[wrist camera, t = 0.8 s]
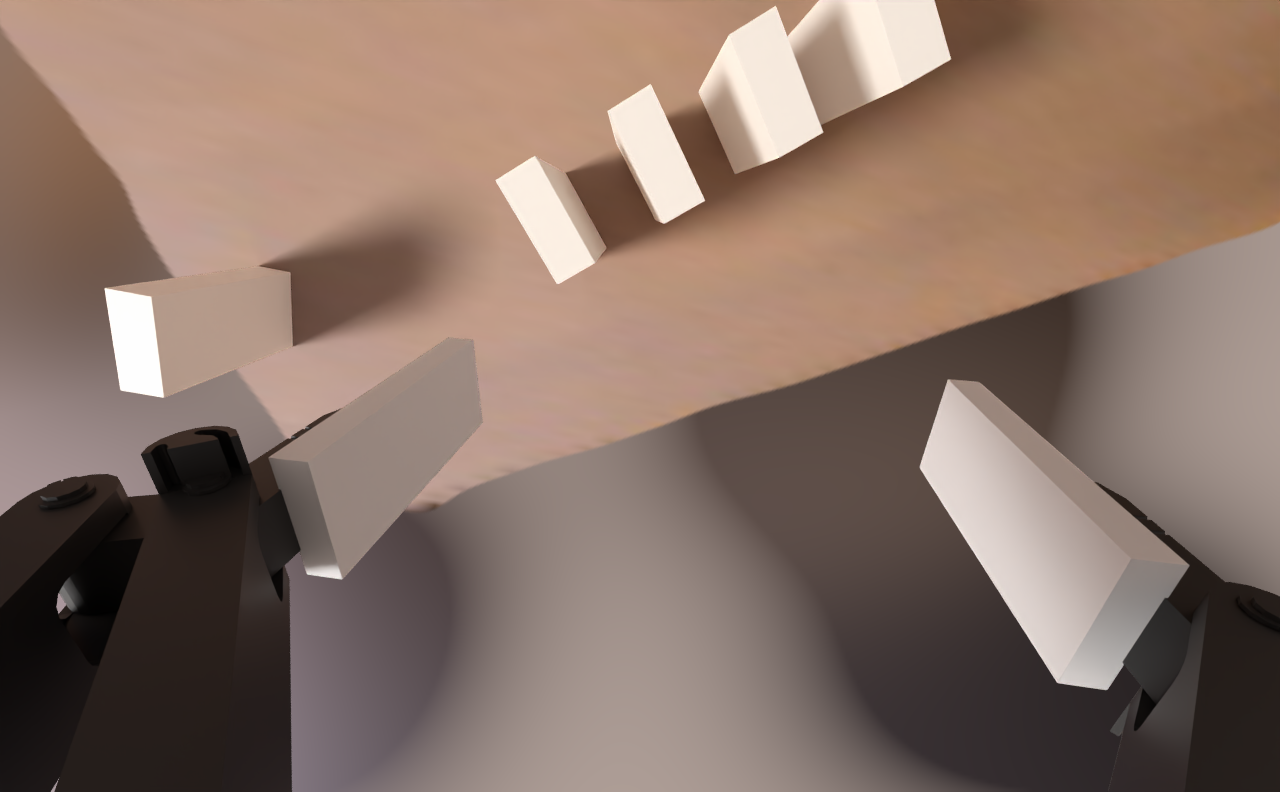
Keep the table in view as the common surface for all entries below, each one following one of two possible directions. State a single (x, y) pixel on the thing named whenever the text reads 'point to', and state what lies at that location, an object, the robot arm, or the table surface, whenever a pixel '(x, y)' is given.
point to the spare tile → (197, 327)
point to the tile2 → (552, 217)
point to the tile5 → (865, 50)
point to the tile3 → (654, 156)
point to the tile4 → (758, 95)
